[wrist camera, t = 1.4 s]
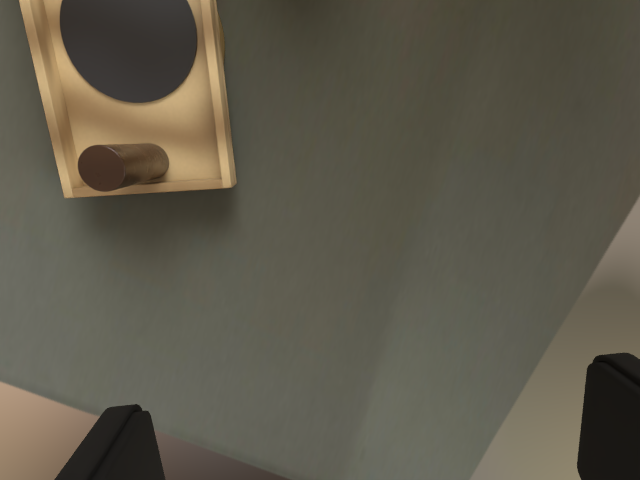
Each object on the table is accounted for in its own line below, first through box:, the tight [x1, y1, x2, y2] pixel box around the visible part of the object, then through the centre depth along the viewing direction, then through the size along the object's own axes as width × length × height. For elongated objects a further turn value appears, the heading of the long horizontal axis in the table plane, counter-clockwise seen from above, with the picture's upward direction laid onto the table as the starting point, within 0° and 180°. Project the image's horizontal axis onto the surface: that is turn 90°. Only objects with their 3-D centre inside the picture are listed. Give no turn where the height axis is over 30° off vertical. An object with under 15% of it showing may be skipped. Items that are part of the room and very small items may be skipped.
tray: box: [19, 0, 237, 198], centre depth 21 cm, size 20×11×8 cm, turn 3°
